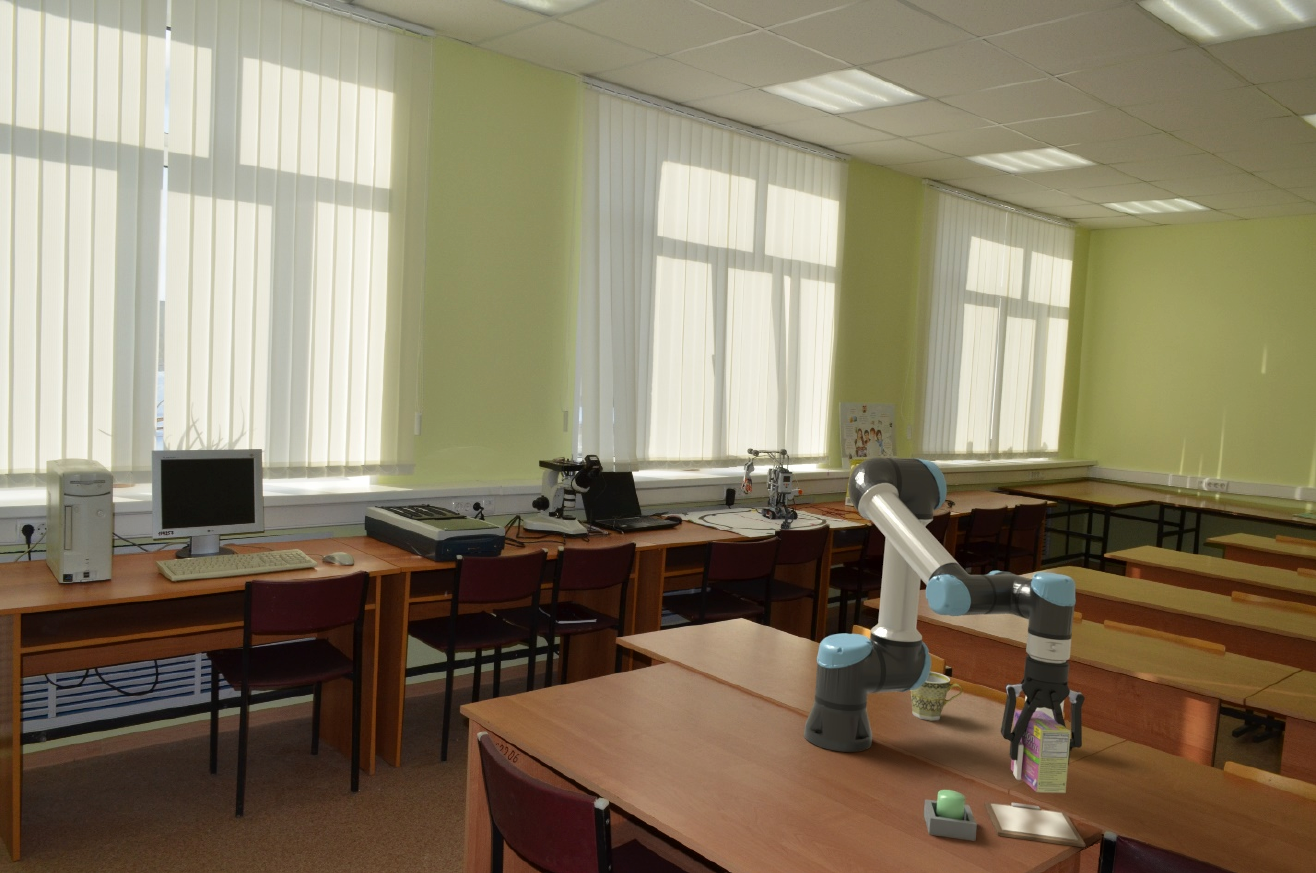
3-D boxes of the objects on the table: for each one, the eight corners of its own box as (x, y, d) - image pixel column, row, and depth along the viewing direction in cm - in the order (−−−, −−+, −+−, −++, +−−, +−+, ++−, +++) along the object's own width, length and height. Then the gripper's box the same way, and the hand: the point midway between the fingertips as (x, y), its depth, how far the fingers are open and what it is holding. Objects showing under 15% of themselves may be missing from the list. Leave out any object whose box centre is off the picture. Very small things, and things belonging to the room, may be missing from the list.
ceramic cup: (903, 718, 227) (906, 678, 227) (908, 706, 236) (911, 668, 236) (958, 728, 222) (961, 687, 222) (961, 716, 232) (964, 677, 231)
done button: (937, 823, 167) (939, 799, 167) (934, 812, 172) (936, 788, 171) (965, 827, 166) (967, 803, 166) (960, 815, 171) (963, 791, 171)
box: (1009, 770, 177) (1014, 709, 176) (1037, 771, 177) (1043, 710, 177) (1035, 793, 166) (1041, 729, 166) (1065, 794, 167) (1071, 730, 166)
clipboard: (997, 835, 167) (998, 829, 167) (984, 804, 180) (984, 799, 180) (1085, 847, 165) (1085, 841, 165) (1065, 815, 178) (1065, 809, 178)
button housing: (929, 834, 166) (930, 818, 166) (923, 814, 174) (925, 799, 173) (975, 841, 164) (976, 824, 164) (967, 820, 172) (969, 805, 172)
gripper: (996, 657, 169) (986, 780, 170) (1109, 669, 166) (1098, 794, 167) (989, 646, 176) (979, 765, 177) (1096, 658, 173) (1086, 778, 174)
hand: (1037, 779), depth 172 cm, fingers closed on box, 6 cm apart
